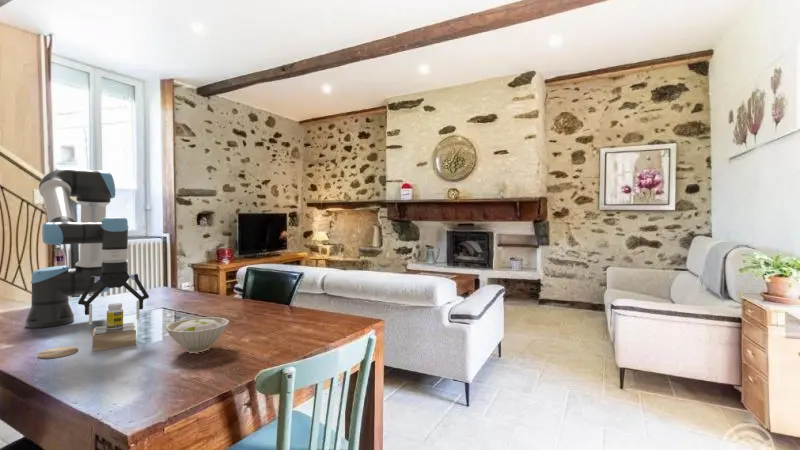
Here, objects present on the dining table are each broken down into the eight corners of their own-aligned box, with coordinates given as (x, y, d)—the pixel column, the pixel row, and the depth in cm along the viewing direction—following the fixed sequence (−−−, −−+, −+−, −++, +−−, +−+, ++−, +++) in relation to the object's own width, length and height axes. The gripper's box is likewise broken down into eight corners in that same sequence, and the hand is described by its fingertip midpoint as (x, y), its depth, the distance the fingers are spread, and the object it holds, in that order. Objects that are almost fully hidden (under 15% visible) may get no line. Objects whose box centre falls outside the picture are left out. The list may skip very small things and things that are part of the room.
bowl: (163, 363, 122) (163, 331, 122) (166, 345, 139) (166, 317, 139) (231, 354, 131) (231, 324, 131) (227, 338, 148) (227, 311, 148)
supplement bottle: (114, 330, 139) (114, 306, 139) (103, 329, 140) (103, 305, 139) (126, 326, 143) (126, 303, 143) (115, 325, 144) (115, 302, 144)
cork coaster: (40, 351, 131) (40, 350, 131) (79, 346, 137) (79, 344, 137) (35, 360, 123) (35, 358, 123) (76, 354, 129) (76, 352, 129)
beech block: (94, 341, 143) (94, 326, 143) (134, 336, 150) (134, 322, 150) (92, 350, 133) (92, 334, 133) (135, 344, 140) (135, 329, 140)
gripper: (67, 264, 131) (68, 328, 131) (157, 260, 145) (157, 318, 145) (70, 262, 137) (70, 323, 137) (155, 258, 151) (155, 314, 151)
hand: (114, 321), depth 141 cm, fingers open, 13 cm apart
